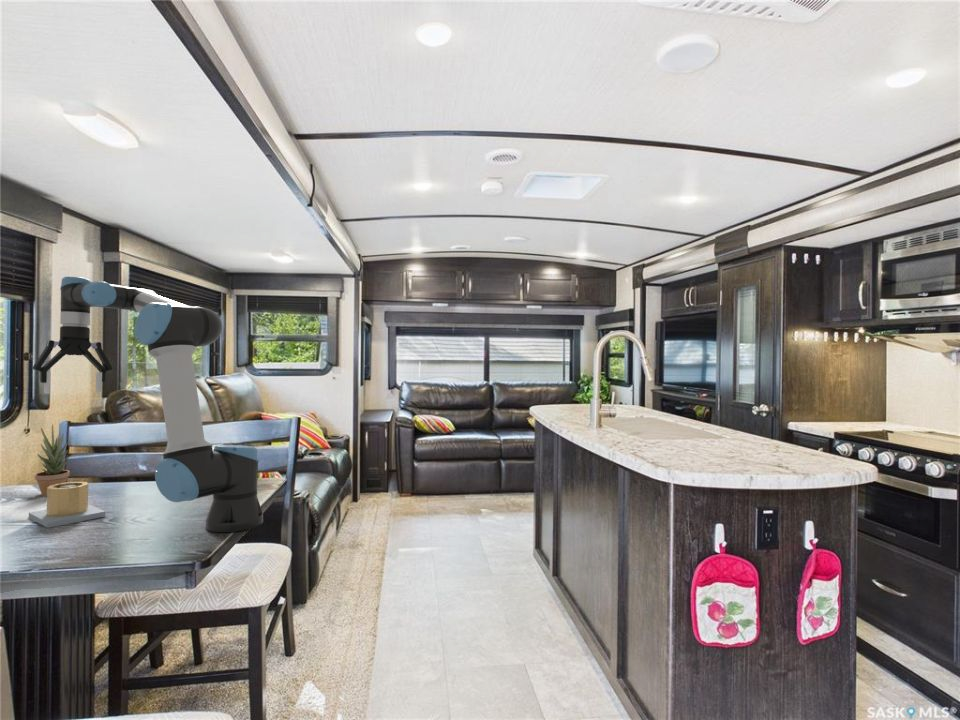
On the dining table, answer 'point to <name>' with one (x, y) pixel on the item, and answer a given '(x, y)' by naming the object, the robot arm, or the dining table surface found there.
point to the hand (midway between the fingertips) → (73, 392)
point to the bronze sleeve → (67, 499)
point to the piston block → (56, 521)
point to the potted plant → (52, 464)
